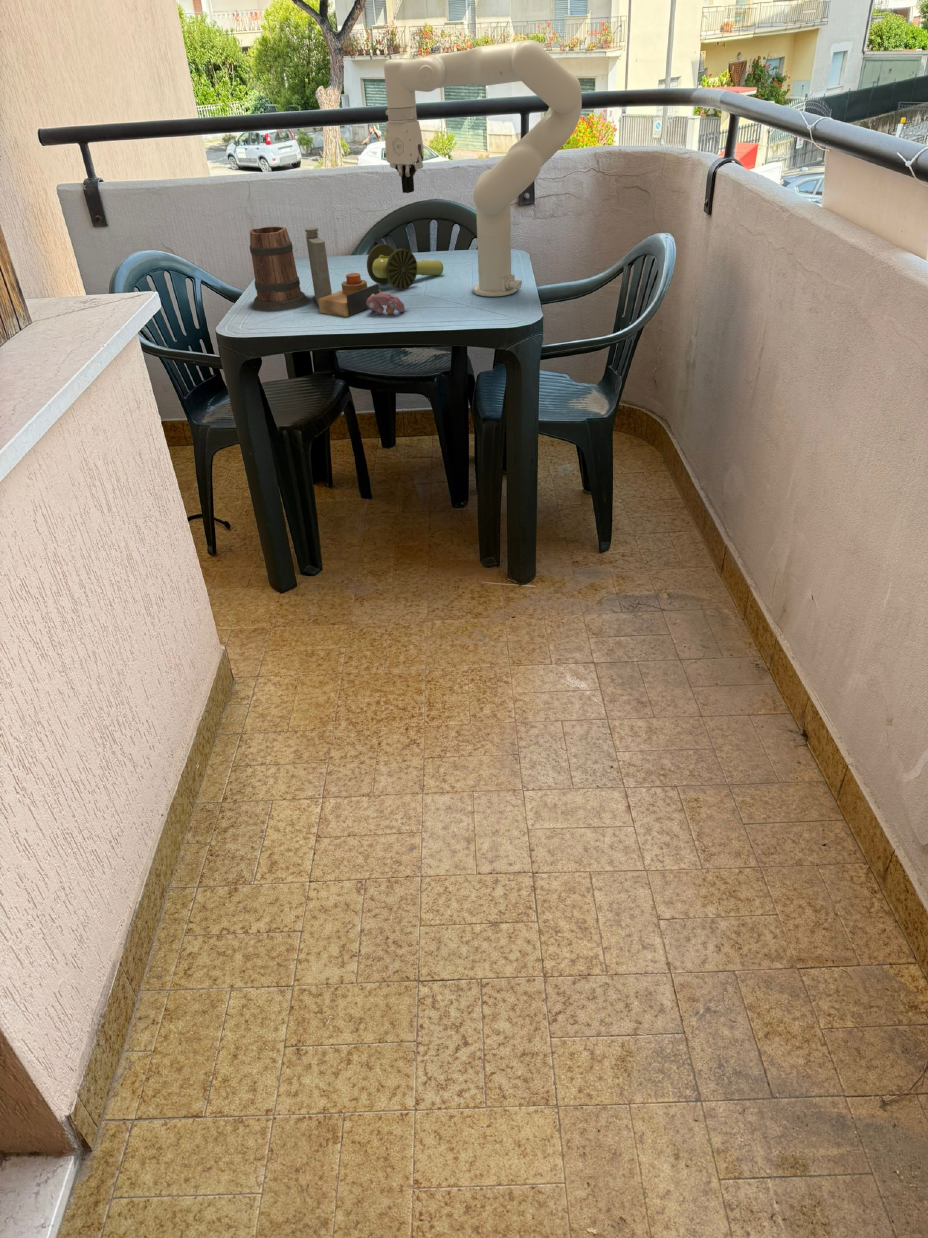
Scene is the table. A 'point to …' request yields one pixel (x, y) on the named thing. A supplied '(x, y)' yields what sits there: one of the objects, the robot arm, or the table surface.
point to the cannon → (398, 266)
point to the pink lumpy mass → (385, 303)
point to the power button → (353, 278)
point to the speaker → (340, 299)
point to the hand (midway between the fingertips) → (408, 191)
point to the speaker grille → (360, 298)
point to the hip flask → (318, 264)
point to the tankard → (275, 270)
